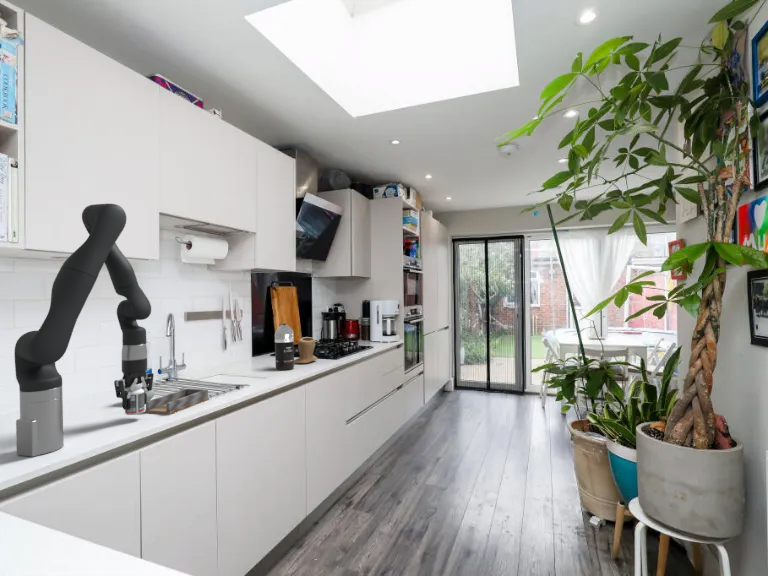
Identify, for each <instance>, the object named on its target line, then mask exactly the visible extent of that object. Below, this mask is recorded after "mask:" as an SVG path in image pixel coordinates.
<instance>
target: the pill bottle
mask: <svg viewBox="0 0 768 576" xmlns="http://www.w3.org/2000/svg"><path fill="white" fill-rule="evenodd" d="M129 388H130V387H127V389H129ZM126 395H127V393H126ZM145 410H146V407H145V405H144V390H143V389H142V383H140V384H136V385H135V387H134V390H133V392H132V393H131V395H130V409H129V410H124V414H125V415H127V416H133V415H135V416H137V415H139V414H143V413H144V412H145Z"/></svg>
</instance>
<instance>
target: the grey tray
mask: <svg viewBox="0 0 768 576" xmlns="http://www.w3.org/2000/svg"><path fill="white" fill-rule="evenodd" d="M206 401H210V398H209V389H203V388H202V389H201V388H184V389H181V390H178V391H175V392H171V393H169V394H166V395H162V396H159V397H156V398H152V399H151V400H149V401H147V402H146V404H145V410H144V412H145V414H156V415H167V414H171V415H173V414H176V413H179V412H181V411H184V410H186V409H189V408H191V407H193V406H197V405H199V404H202V403H204V402H206ZM201 402H202V403H201ZM196 404H197V405H196ZM178 411H179V412H178ZM175 412H176V413H175Z"/></svg>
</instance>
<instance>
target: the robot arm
mask: <svg viewBox="0 0 768 576" xmlns="http://www.w3.org/2000/svg"><path fill="white" fill-rule="evenodd" d="M81 220H82V223H83V226H84V227H85V230H86V231H87V233H88V235H89V236H88V237H87V239H86V240H85V241H84V242H83V243H82V244H81V245H80V246H79V247H78V248H77V249H76V250H74V252H72V254H70V255H69V256H68V258H66V259H65V261H64V262H63V263H62V265H61V266H60V268H59V271H58V273H57V274H56V276H55V279H54V281H53V283H52V285H51V286H52V287H51V293H50V305H49V309H48V312H47V315H46V317H45V318H44V320H43V322H42V323H41V325H40V327H39V329H38V330H31V331H28V332H25V333H23V334H22V335H21V336H20V337H19V338H18V339H17V340H16V343H15V345H14V368H15V369H14V371H15V378H16V381H17V383H18V386H19V389H18V390H19V418H18V419H16V421H15V429H16V431H15V432H16V436H15V437H16V455H17V456H24V457H32V458H33V457H36V456H39V455H44V454H49V453H52V452H55V451H57V450H60V449H62V448H63V447H64V443H65V441H64V408H63V407H64V406H63V377H62V375H61V374H60V373H59V371H58V370H57V367H56V362H58V361H60V359H62V358H63V357H64V355H65V354H66V352H67V349H68V346H69V344H70V340H71V338H72V335H73V332H74V328H75V326H76V324H77V321H78V319H79V316H80V314H81V312H82V310H83V308H84V306H85V304H86V301H87V300H88V298H89V295H90V294H91V292H92V290H93V288H94V286H95V285H96V284H95V283H97V282H96V281H97V280H98V277H99V275H100V273H101V270H102V269H103V266H104V265H105V267H106V270H107V271H108V275H109V277H110V280H111V283H112V286H113V288H114V291H115V294H117V295H118V296H120V297H124V298H126V299H123V300H122V301H120V302H119V303H118V305H117V308H116V316H117V319H118V323H119V328H120V330H121V333H122V337H121V339H122V340H121V341H122V348H121V373H122V374H123V375H122V378H121V379H116V380H114V382H113V384H114V390H115V396H116V398H118V399H121V400H122V401H121V402H122V409H123V410H124V411H125V410H129V409H130V395H131V393H132V392H133V390H134V387H135V385H136V384H140V383H142V389H143V390H144V406H146V401H147V393H148V391H151V390H152V389H153V381H154V373H151V372H146V371H147V370H148V347H147V330H146V328H145V327H143V326H141V325H138V321H141V320H146V319H148V318H149V317H150V315H152V314H151V313H152V305H151V301H150V300H149V298H148V297H147V295H146V294H145V292H144V291H143V289H142V288H141V287H140V285H139V282H138V279H137V276H136V273H135V270H134V267H133V266H132V263H131V262H130V261H129V259H128V258H127V257H126V256H125V255H124V254H123V252H122V251H121V249H120V248H119V247H118V245H117V243H116V242H117V241H118V239H119V237H120V236H121V234H122V232H123V231H124V229H125V227H126V224H127V213H126V211H125V209H124V208H123V207H122V206H120V205H118V204H115V203H97V204H90V205H87V206H86V207H85V208H84V209H83V211H82V213H81ZM127 387H130V388H129V389H127ZM126 393H127V395H126Z"/></svg>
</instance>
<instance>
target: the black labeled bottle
mask: <svg viewBox="0 0 768 576" xmlns="http://www.w3.org/2000/svg"><path fill="white" fill-rule="evenodd" d="M294 334H295V333H294V330H293V329H292V327H290V326H289V325H288V324H287V323H282V324H280V326H278V327H277V328H276V330H275V333H274V351H275V352H274V353H275V355H274V358H275V360H274V363H275V370H277V371H289V370H290V371H291V370H293V369H294V368H295V362H294V360H295V347H294V345H295V344H294V342H295V339H294V337H295V335H294Z"/></svg>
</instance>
